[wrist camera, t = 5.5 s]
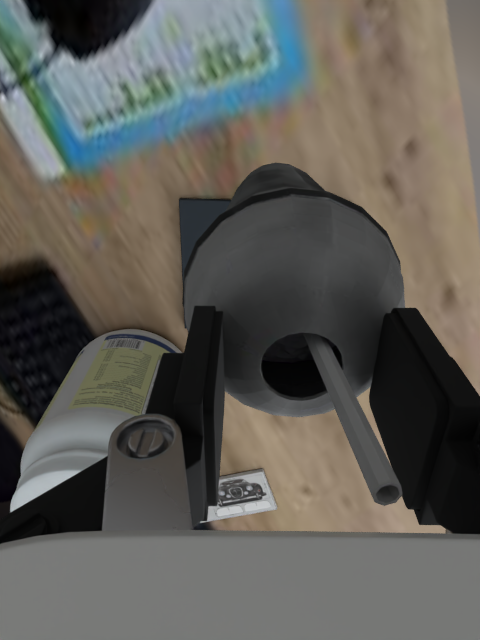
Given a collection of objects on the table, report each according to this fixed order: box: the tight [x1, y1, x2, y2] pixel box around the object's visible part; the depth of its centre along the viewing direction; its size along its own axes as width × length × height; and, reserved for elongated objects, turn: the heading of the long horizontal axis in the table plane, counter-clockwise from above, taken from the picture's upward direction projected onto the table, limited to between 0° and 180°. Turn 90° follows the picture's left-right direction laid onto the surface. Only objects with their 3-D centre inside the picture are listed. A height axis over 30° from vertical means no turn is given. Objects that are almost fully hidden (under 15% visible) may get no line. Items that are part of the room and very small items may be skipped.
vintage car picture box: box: [200, 469, 277, 523], centre depth 53 cm, size 15×7×4 cm, turn 106°
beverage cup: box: [183, 163, 405, 506], centre depth 16 cm, size 7×7×20 cm
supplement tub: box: [10, 329, 182, 512], centre depth 38 cm, size 12×12×17 cm
